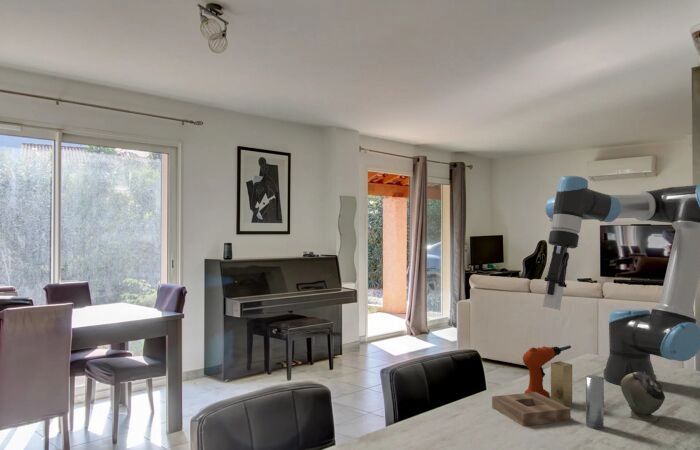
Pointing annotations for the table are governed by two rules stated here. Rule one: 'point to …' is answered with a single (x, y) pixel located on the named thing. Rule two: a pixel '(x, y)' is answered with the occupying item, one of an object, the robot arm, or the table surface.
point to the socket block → (531, 408)
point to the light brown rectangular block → (561, 382)
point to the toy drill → (539, 366)
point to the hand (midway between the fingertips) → (551, 308)
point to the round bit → (594, 402)
